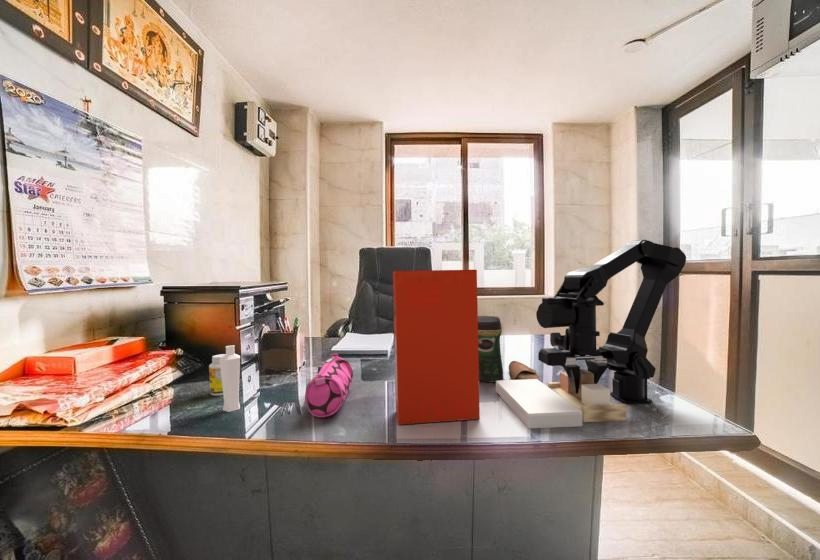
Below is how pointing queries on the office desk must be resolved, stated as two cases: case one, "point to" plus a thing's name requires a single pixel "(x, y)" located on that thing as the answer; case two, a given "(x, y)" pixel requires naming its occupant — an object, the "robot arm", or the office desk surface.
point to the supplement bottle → (215, 376)
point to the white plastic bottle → (230, 379)
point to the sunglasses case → (521, 371)
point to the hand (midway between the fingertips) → (582, 392)
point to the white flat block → (538, 404)
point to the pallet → (592, 411)
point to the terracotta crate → (565, 382)
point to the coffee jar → (489, 349)
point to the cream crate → (595, 394)
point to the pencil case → (329, 387)
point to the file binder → (436, 345)
